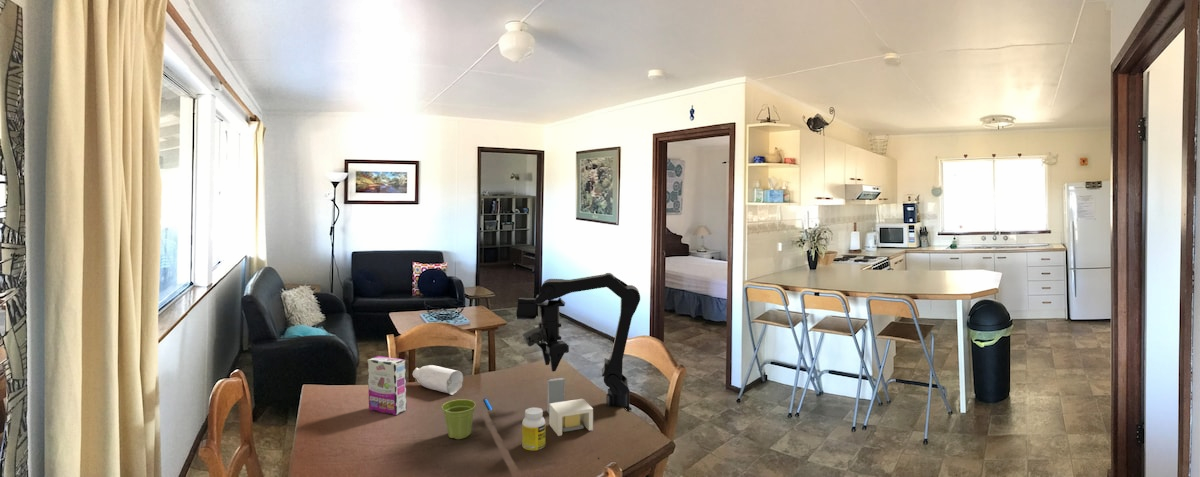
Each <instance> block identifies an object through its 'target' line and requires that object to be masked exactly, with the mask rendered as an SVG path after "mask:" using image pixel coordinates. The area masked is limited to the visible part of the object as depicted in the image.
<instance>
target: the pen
mask: <svg viewBox="0 0 1200 477" xmlns="http://www.w3.org/2000/svg"><path fill="white" fill-rule="evenodd" d="M484 403H485V404H486V406H487V409H488V410H489V411H492V410H493V408H492V406H491V404H490V403H489V400H488V399H487V398H484Z"/></svg>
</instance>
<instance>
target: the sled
mask: <svg viewBox="0 0 1200 477" xmlns="http://www.w3.org/2000/svg"><path fill="white" fill-rule="evenodd" d="M565 380H566V379H565V377H558V378H550V379H547V409H546V410H545V411H546V412H547V413H548V414H549V403H556V402H563V401H565V392H566V391H565V390H566V389H565V387H566V386H565V385H566V384H565V382H566V381H565ZM582 429H583V430H584V425H583V424H582V422H580V426H574V427H568V428H564V427H563V426H562V433H563V432H564V433H566V432H572V431H577V430H582Z"/></svg>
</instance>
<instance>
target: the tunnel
mask: <svg viewBox="0 0 1200 477" xmlns="http://www.w3.org/2000/svg"><path fill="white" fill-rule="evenodd" d="M576 414H580V423H581V424H582V425H583V427H584V428H586V430H588V431H589V432H590V431H594V408H593V407H592V406H591V405H590V403H588V402H587V401H586V400H585V399H584V398H579V399H572V400H564V401H563V402H556V403H549V413H548V415H549V421H548V422H549V426H550V427H551V429H552V430H553V431H554V433H555V434H556V435H557V436H558V437H560V436H563V431H562V417H564V416H570V415H576Z"/></svg>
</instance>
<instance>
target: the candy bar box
mask: <svg viewBox="0 0 1200 477" xmlns="http://www.w3.org/2000/svg"><path fill="white" fill-rule="evenodd" d="M406 368H407V367H406V359H402V358H395V357H390V356H389V357H387V356H382V355H376V356H374V357H372V358H369V359H367V385H368V388H367V389H368V410H369V411H371V412H377V413H382V414H386V415H393V416H398V415H400V414H402V413H404V412H406V411H407V383H406V382H407V380H406V379H407V377H406V376H407V375H406V371H407V370H406Z"/></svg>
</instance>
